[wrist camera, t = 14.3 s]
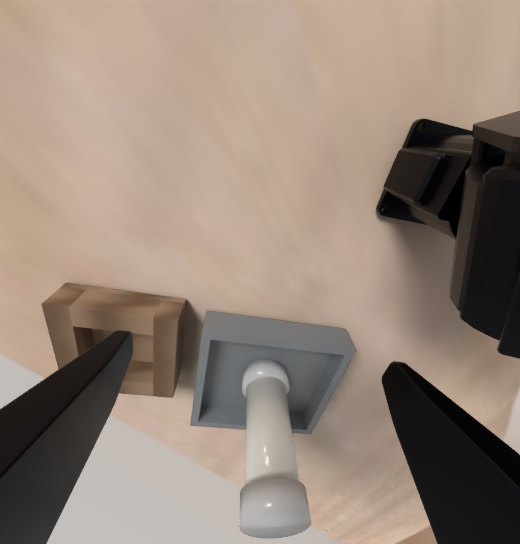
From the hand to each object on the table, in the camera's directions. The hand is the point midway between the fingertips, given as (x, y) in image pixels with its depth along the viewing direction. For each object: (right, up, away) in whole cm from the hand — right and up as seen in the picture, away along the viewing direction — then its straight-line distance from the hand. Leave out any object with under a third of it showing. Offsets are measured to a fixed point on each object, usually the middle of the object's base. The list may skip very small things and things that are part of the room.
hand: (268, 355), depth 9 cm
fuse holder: (-13, -3, +16) cm, 21 cm away
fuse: (0, -8, +19) cm, 21 cm away
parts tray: (0, -8, +19) cm, 21 cm away
